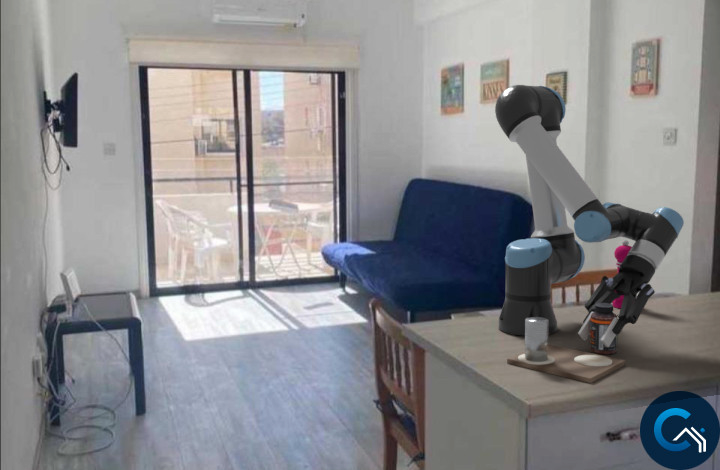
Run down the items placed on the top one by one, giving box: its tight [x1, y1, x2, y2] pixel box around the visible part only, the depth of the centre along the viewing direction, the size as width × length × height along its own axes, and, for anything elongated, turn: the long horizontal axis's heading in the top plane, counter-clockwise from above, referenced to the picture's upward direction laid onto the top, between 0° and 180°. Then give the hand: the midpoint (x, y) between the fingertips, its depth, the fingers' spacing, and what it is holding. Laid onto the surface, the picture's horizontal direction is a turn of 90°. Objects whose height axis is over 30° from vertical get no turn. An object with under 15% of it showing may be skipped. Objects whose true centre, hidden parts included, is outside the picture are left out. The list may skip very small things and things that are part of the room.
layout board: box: [506, 343, 626, 384], centre depth 156 cm, size 20×16×1 cm
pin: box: [524, 317, 549, 362], centre depth 156 cm, size 5×5×9 cm
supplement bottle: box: [589, 303, 618, 356], centre depth 164 cm, size 6×6×11 cm
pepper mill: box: [611, 239, 634, 309], centre depth 207 cm, size 7×7×20 cm
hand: (592, 340), depth 162 cm, fingers closed on supplement bottle, 6 cm apart
